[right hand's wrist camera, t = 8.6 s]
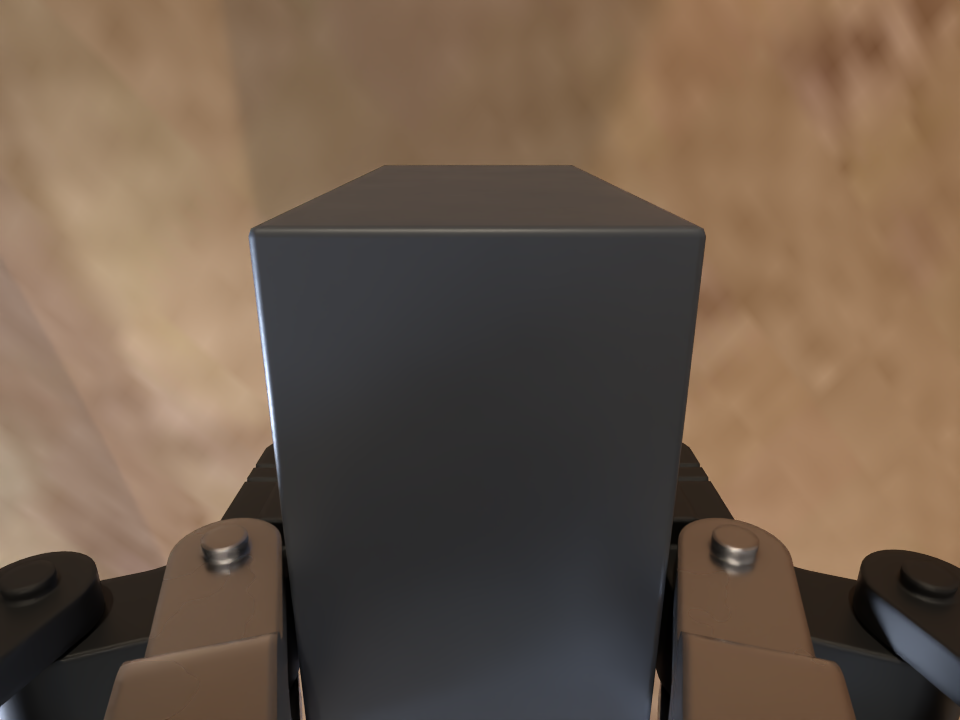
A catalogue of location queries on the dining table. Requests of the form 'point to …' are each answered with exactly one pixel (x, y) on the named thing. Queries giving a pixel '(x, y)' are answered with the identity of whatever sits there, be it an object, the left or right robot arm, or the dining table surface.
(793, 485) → the dining table surface
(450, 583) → the post
